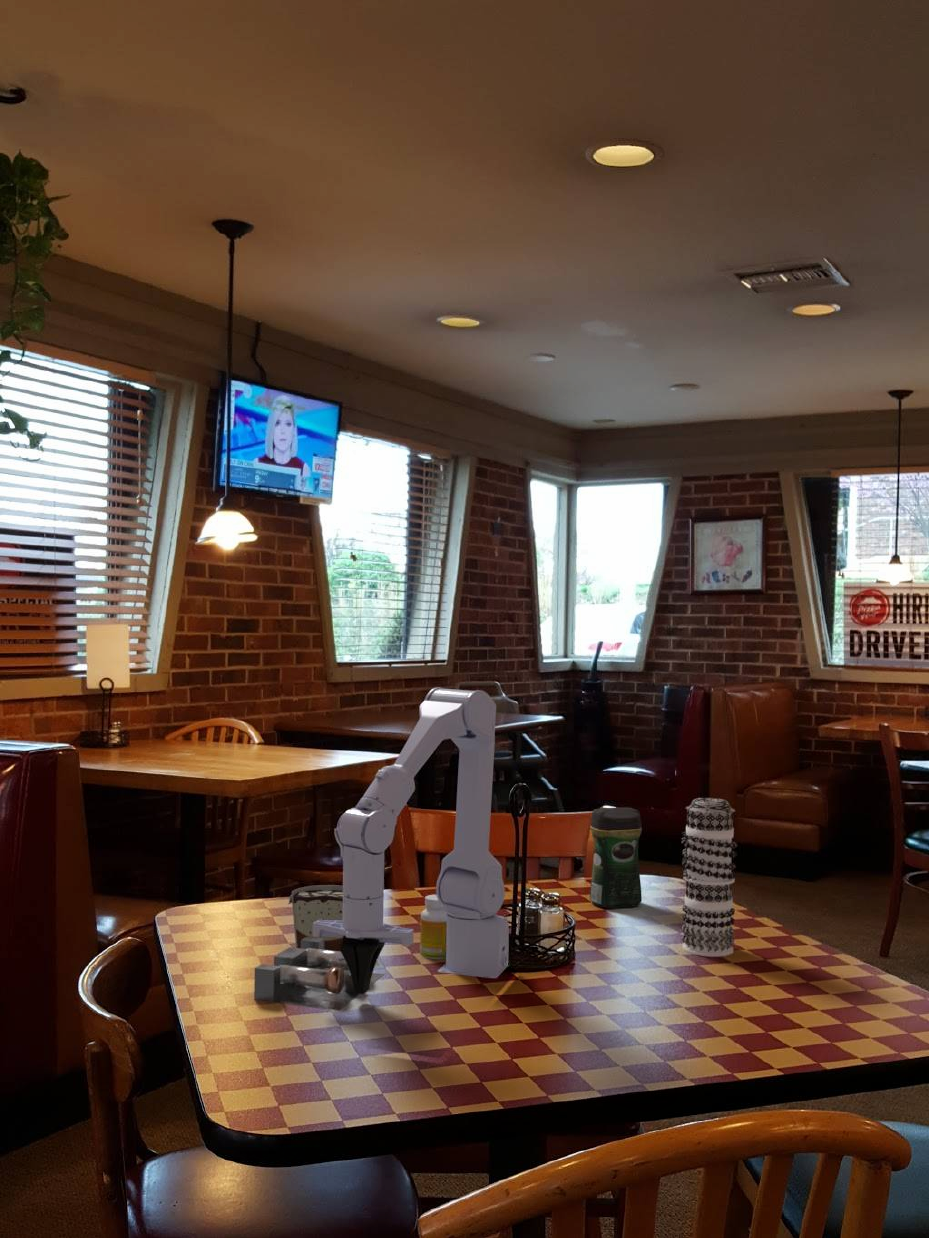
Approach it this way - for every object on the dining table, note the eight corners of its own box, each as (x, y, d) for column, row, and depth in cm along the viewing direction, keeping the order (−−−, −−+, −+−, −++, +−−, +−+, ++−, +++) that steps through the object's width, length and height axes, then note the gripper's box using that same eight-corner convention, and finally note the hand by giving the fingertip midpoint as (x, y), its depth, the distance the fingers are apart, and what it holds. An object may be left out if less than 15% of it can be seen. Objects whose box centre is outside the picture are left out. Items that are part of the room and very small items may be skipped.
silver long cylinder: (367, 971, 175) (368, 947, 175) (358, 978, 171) (358, 954, 171) (311, 965, 178) (312, 941, 178) (301, 972, 174) (302, 948, 174)
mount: (384, 978, 176) (384, 945, 176) (339, 1014, 160) (339, 977, 160) (305, 968, 180) (306, 936, 180) (254, 1003, 164) (254, 968, 164)
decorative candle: (668, 948, 195) (670, 798, 195) (702, 938, 201) (704, 793, 201) (713, 960, 188) (715, 806, 188) (746, 950, 194) (749, 800, 194)
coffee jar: (629, 897, 229) (631, 803, 229) (646, 907, 222) (648, 810, 222) (583, 900, 227) (585, 805, 227) (599, 910, 219) (601, 812, 219)
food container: (369, 945, 194) (370, 885, 194) (362, 956, 187) (363, 894, 187) (296, 942, 195) (297, 882, 195) (287, 953, 189) (288, 891, 189)
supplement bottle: (449, 963, 184) (450, 902, 184) (416, 960, 186) (417, 899, 185) (456, 953, 190) (457, 894, 190) (424, 951, 191) (425, 892, 191)
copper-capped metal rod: (344, 989, 166) (344, 964, 166) (333, 997, 163) (334, 971, 163) (285, 982, 169) (285, 958, 169) (274, 990, 166) (274, 965, 166)
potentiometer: (364, 988, 170) (365, 958, 170) (358, 993, 167) (358, 963, 167) (348, 986, 170) (348, 956, 170) (341, 991, 168) (341, 961, 168)
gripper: (303, 896, 162) (302, 994, 162) (401, 905, 157) (400, 1006, 157) (324, 885, 168) (323, 979, 169) (419, 894, 164) (417, 990, 164)
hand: (361, 991), depth 163 cm, fingers closed
